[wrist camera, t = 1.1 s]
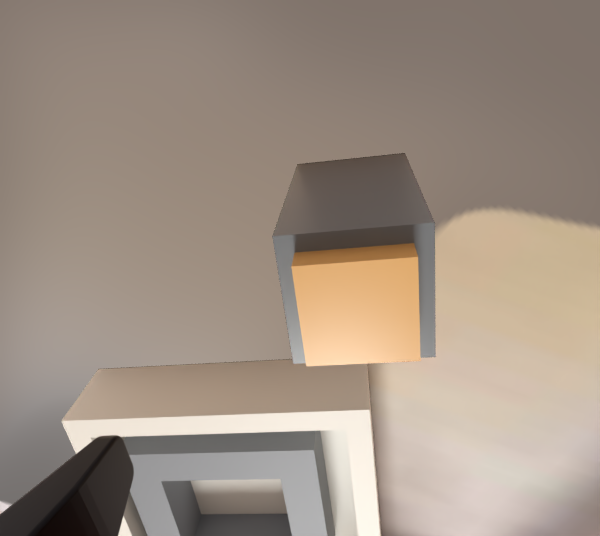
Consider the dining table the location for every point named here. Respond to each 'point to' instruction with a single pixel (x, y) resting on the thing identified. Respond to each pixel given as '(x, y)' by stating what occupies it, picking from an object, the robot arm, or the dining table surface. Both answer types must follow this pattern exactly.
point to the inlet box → (238, 447)
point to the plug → (357, 263)
